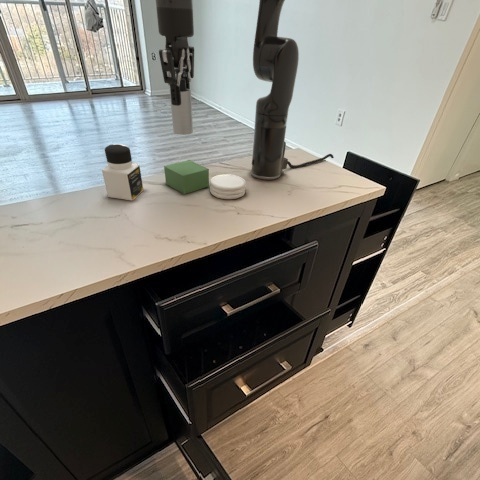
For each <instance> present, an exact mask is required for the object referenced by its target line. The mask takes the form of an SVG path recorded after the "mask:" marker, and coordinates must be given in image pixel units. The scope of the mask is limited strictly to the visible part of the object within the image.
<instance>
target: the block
mask: <svg viewBox="0 0 480 480" xmlns="http://www.w3.org/2000/svg"><path fill="white" fill-rule="evenodd" d="M163 170H164V171H163V172H164V179H165V185H168V186H169V187H171V188H173V189H174V190H176V191H178V192H179V193H181V194H183V195H187V194H189V193H193V192H196V191H199V190H203V189H205V188H210V169H209V168H208V167H206V166H204V165H201V164H199V163H197V162H195V161H193V160H191V159H189V160H184V161H180V162H179V161H178V162H175V163H171V164H167V165H164V166H163Z"/></svg>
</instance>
